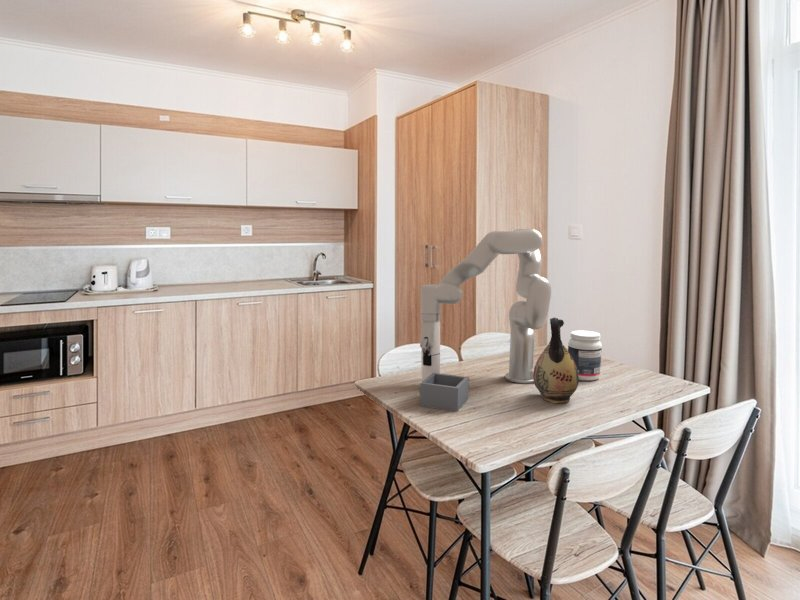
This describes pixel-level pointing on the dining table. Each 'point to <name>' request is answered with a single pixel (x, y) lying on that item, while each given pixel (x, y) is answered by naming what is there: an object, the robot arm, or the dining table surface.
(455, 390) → the square well
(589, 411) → the dining table surface
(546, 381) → the ceramic jug
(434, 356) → the cylindrical container
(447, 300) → the robot arm
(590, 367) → the supplement tub
